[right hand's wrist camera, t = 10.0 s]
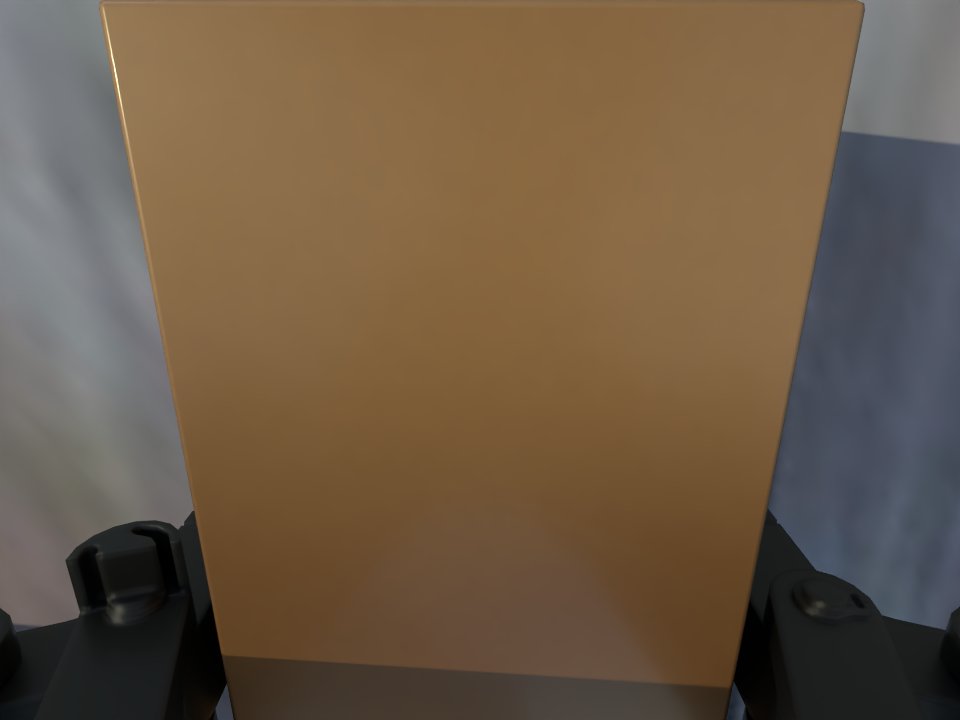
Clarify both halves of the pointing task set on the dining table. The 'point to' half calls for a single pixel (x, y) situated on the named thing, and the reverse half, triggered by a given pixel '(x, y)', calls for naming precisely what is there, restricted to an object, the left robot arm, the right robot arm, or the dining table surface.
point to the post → (481, 333)
